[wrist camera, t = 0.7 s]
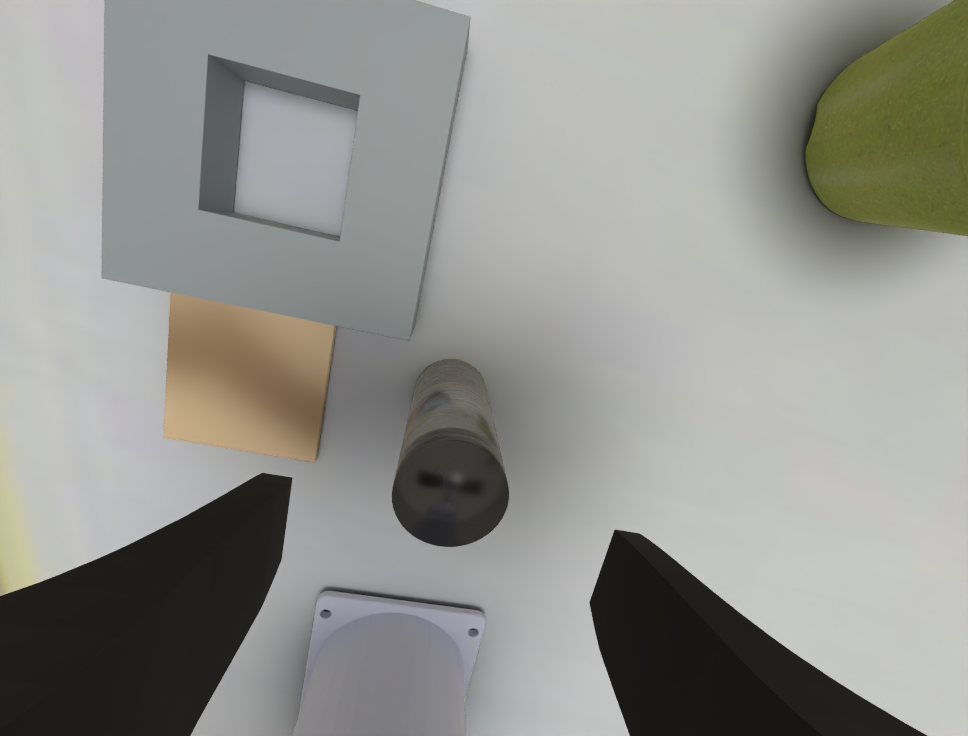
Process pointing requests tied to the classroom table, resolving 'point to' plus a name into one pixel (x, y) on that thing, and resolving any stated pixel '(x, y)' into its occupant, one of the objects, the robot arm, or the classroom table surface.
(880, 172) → the plant pot
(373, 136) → the block
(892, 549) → the classroom table surface
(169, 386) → the pad
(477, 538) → the shiny metal cylinder
